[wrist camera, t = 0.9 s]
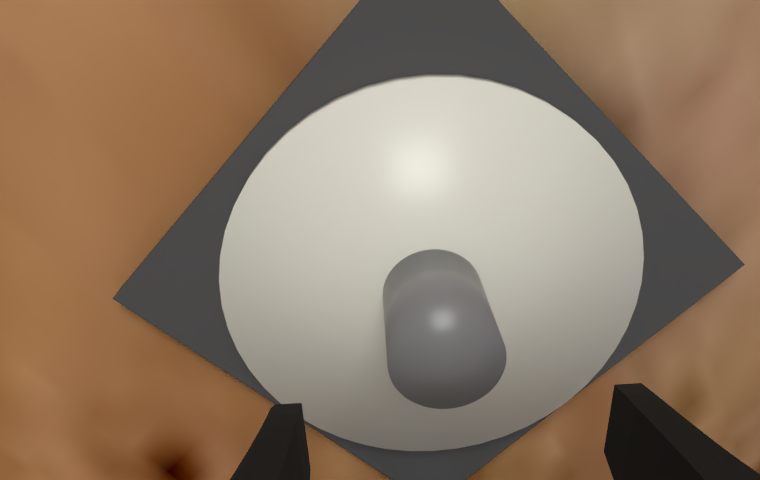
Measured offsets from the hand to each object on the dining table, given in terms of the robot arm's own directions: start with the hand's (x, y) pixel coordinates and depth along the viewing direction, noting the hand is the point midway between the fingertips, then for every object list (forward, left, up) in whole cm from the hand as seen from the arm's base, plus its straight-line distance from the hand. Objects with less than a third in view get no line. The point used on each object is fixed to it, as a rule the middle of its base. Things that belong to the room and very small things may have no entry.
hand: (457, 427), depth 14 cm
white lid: (0, 0, -7) cm, 7 cm away
